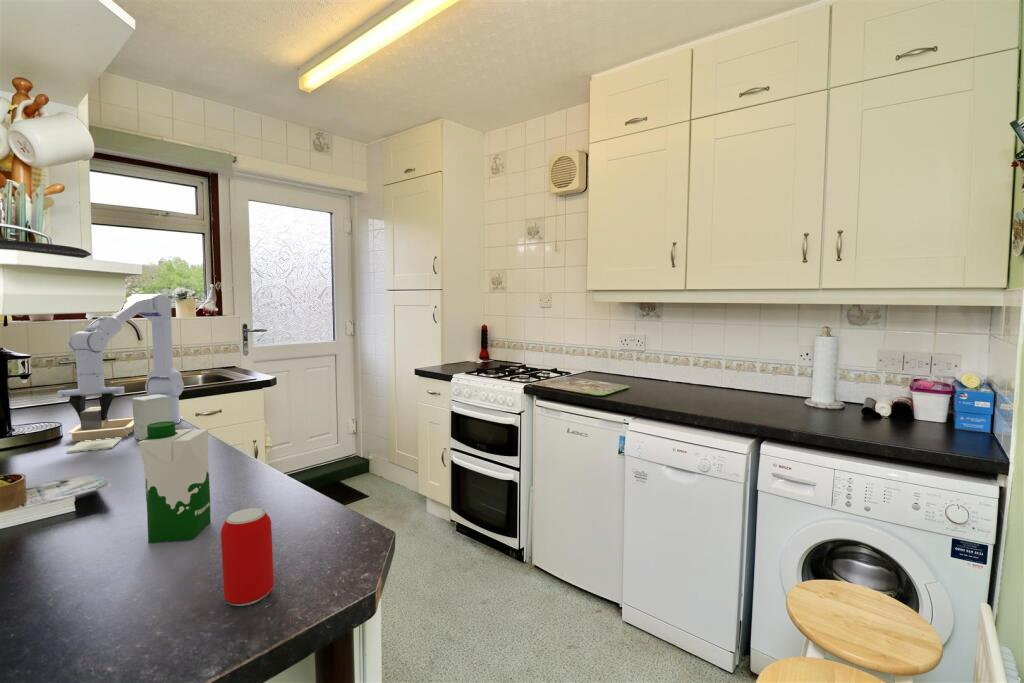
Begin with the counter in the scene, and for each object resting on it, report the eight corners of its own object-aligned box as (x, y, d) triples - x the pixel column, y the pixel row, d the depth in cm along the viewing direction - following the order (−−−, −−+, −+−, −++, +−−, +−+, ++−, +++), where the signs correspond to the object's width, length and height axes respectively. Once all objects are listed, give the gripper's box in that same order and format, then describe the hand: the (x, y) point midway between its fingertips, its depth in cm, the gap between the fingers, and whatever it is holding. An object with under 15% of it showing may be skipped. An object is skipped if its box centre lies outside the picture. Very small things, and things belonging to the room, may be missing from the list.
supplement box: (173, 436, 149) (170, 396, 148) (144, 442, 143) (142, 400, 142) (161, 433, 153) (159, 393, 152) (133, 438, 147) (131, 397, 146)
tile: (79, 443, 142) (79, 441, 142) (122, 439, 146) (122, 437, 146) (66, 453, 133) (66, 451, 133) (112, 448, 137) (112, 446, 137)
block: (91, 424, 142) (89, 407, 142) (108, 422, 144) (107, 406, 144) (81, 430, 135) (80, 412, 135) (99, 428, 137) (98, 411, 136)
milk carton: (166, 523, 91) (160, 418, 89) (218, 519, 93) (213, 416, 91) (138, 546, 83) (131, 431, 81) (197, 542, 84) (190, 428, 82)
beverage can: (214, 603, 67) (209, 519, 66) (254, 580, 73) (250, 502, 72) (245, 615, 65) (240, 528, 64) (283, 589, 70) (280, 509, 69)
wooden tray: (83, 431, 155) (83, 422, 155) (142, 425, 162) (141, 417, 161) (65, 443, 141) (64, 433, 141) (130, 437, 148) (129, 427, 148)
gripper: (51, 377, 131) (55, 426, 132) (118, 373, 137) (121, 421, 138) (61, 373, 137) (65, 421, 138) (125, 370, 144) (128, 415, 145)
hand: (93, 420), depth 139 cm, fingers closed on block, 4 cm apart
